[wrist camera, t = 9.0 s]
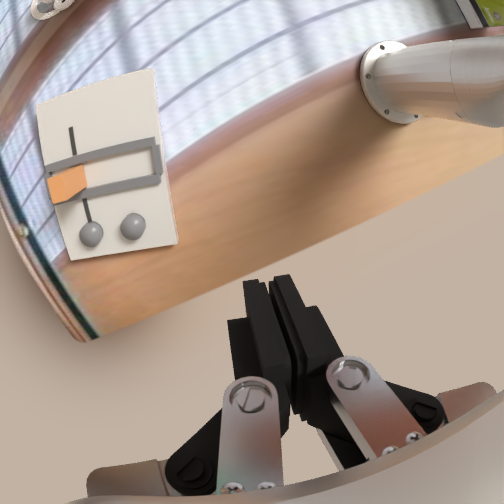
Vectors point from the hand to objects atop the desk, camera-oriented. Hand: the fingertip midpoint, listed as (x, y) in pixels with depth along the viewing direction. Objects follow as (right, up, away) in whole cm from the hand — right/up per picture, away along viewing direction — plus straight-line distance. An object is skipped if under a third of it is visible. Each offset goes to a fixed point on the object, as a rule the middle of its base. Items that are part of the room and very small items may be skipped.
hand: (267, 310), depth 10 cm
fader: (-22, +11, +19) cm, 31 cm away
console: (-19, +13, +21) cm, 31 cm away
